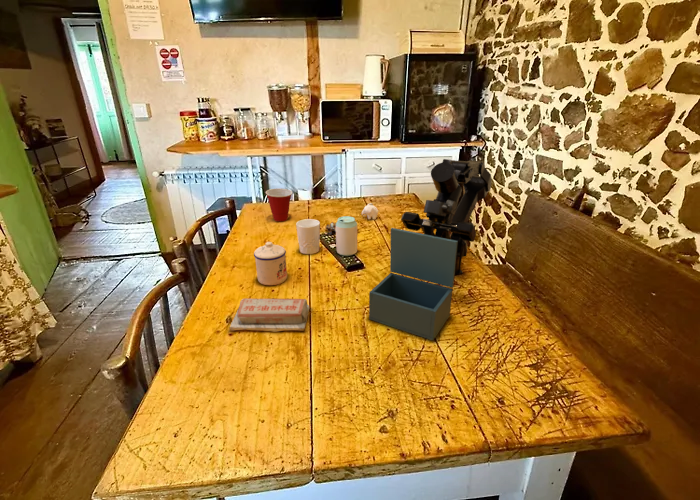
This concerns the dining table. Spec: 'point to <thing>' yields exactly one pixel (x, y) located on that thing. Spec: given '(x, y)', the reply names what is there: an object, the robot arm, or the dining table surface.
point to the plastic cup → (279, 203)
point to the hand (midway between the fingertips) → (427, 255)
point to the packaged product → (271, 314)
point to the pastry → (331, 228)
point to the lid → (423, 256)
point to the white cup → (308, 235)
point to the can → (346, 236)
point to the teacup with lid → (271, 264)
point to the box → (410, 305)
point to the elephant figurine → (370, 211)
